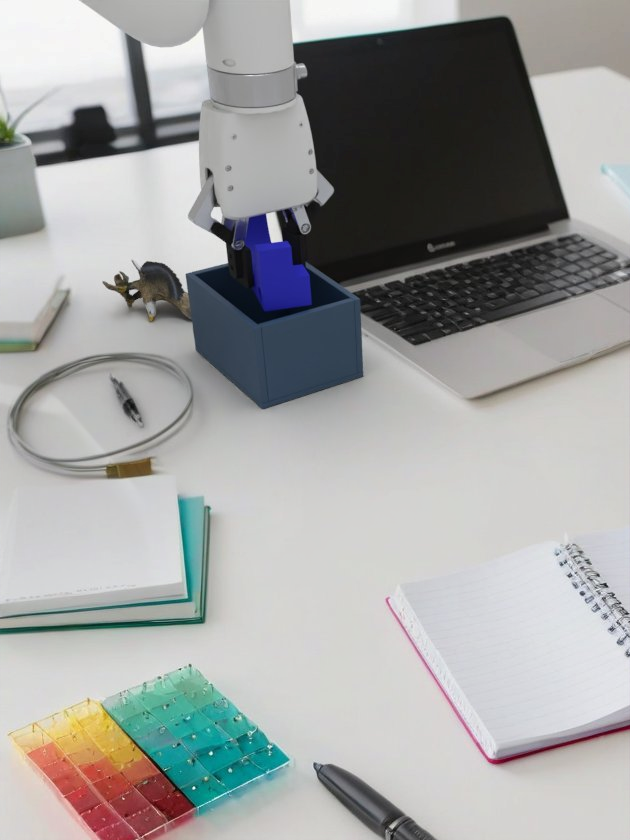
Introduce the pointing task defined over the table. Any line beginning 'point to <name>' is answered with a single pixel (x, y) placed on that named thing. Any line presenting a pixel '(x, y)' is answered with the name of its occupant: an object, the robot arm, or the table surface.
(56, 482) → the table surface
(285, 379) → the basket
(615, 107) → the table surface
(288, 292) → the cable clip
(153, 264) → the eagle figurine
